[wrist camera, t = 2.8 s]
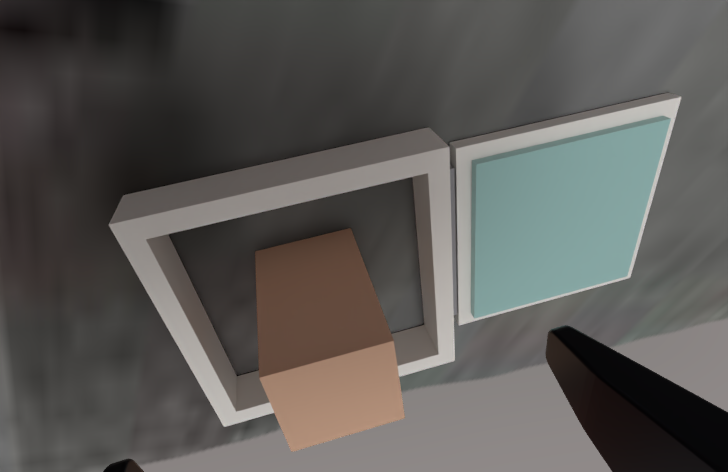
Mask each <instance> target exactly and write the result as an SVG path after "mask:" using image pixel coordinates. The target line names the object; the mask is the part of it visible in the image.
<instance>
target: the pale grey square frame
mask: <svg viewBox="0 0 728 472" xmlns="http://www.w3.org/2000/svg"><path fill="white" fill-rule="evenodd" d="M409 177H412V180H413V192H414V204H415V217H416V229H417V241H418V253H419V266H420V278H421V290H422V303H423V315H424V325H422V326H418V327H414V328H411V329H407V330H403V331H400V332H396V333H392V334H391V335H392V337H393V340H394V345H395V352H396V359H397V366H398V373H399V377H400V376H403V375H407V374H410V373H414V372H417V371H421V370H424V369H428V368H431V367H435V366H438V365H442V364H445V363H449V362H452V361H455V348H454V309H453V269H452V229H451V190H450V150H449V146H448V145H447V144H446V143H445V142H444V141H443V140H442V139H441V138H440V137H439V136H438V135H437V134H436V133H434V132H433V131H432V130H431V129H430V128H429V127H428V128H423V129H419V130H414V131H410V132H405V133H401V134H396V135H392V136H387V137H383V138H378V139H374V140H369V141H365V142H360V143H356V144H351V145H347V146H342V147H338V148H333V149H329V150H324V151H320V152H315V153H311V154H306V155H302V156H297V157H293V158H288V159H284V160H279V161H275V162H270V163H266V164H261V165H257V166H252V167H248V168H243V169H239V170H234V171H230V172H225V173H221V174H216V175H212V176H207V177H203V178H198V179H194V180H189V181H185V182H180V183H176V184H171V185H167V186H162V187H158V188H153V189H149V190H144V191H140V192H135V193H131V194H126V195H123V197H122V199H121V201H120V203H119V205H118V207H117V209H116V211H115V213H114V215H113V217H112V219H111V221H110V223H109V227H110V228H111V230H112V232H113V233H114V235H115V237H116V239H117V240H118V242H119V244H120V246H121V247H122V249H123V251H124V253H125V254H126V256H127V258H128V260H129V261H130V263H131V265H132V267H133V268H134V270H135V272H136V274H137V275H138V277H139V279H140V281H141V282H142V284H143V286H144V288H145V289H146V291H147V293H148V295H149V296H150V298H151V300H152V302H153V303H154V305H155V307H156V309H157V310H158V312H159V314H160V316H161V317H162V319H163V321H164V323H165V324H166V326H167V328H168V330H169V331H170V333H171V335H172V337H173V338H174V340H175V342H176V344H177V345H178V347H179V349H180V351H181V352H182V354H183V356H184V358H185V359H186V361H187V363H188V365H189V366H190V368H191V370H192V372H193V373H194V375H195V377H196V379H197V380H198V382H199V384H200V386H201V387H202V389H203V391H204V393H205V394H206V396H207V398H208V400H209V401H210V403H211V405H212V407H213V408H214V410H215V412H216V414H217V415H218V417H219V419H220V421H221V422H222V424H223V426H224V427H226V426H229V425H233V424H236V423H240V422H243V421H247V420H250V419H254V418H257V417H261V416H264V415H268V414H271V413H274V411H273V408H272V406H271V404H270V402H269V399H268V397H267V395H266V392H265V390H264V388H263V386H262V383H261V381H260V379H259V370H258V371H254V372H251V373H247V374H243V375H240V376H237V375H236V373H235V371H234V369H233V367H232V365H231V363H230V361H229V359H228V357H227V355H226V353H225V351H224V349H223V346H222V344H221V342H220V340H219V338H218V336H217V334H216V332H215V330H214V328H213V326H212V324H211V322H210V320H209V318H208V315H207V313H206V311H205V309H204V307H203V305H202V303H201V301H200V299H199V297H198V295H197V293H196V291H195V289H194V287H193V284H192V282H191V280H190V278H189V276H188V274H187V272H186V270H185V268H184V266H183V264H182V262H181V260H180V258H179V256H178V254H177V251H176V249H175V247H174V245H173V243H172V241H171V239H170V237H169V235H168V234H171V233H175V232H179V231H184V230H188V229H192V228H196V227H201V226H205V225H209V224H213V223H218V222H222V221H226V220H230V219H235V218H239V217H243V216H247V215H252V214H256V213H260V212H264V211H269V210H273V209H277V208H282V207H286V206H290V205H294V204H299V203H303V202H307V201H311V200H316V199H320V198H324V197H328V196H333V195H337V194H341V193H345V192H350V191H354V190H358V189H362V188H367V187H371V186H375V185H379V184H384V183H388V182H392V181H397V180H401V179H405V178H409Z"/></svg>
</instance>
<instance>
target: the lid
mask: <svg viewBox="0 0 728 472" xmlns="http://www.w3.org/2000/svg"><path fill="white" fill-rule="evenodd" d="M680 100H681V96H678V95H675V94H672V93H664V94H660V95H656V96H651V97H647V98H643V99H638V100H634V101H629V102H625V103H621V104H616V105H612V106H607V107H603V108H599V109H594V110H590V111H585V112H581V113H577V114H572V115H568V116H564V117H559V118H555V119H550V120H546V121H542V122H537V123H533V124H528V125H524V126H520V127H515V128H511V129H507V130H502V131H498V132H493V133H489V134H485V135H480V136H476V137H471V138H467V139H463V140H458V141H454V142H449V144H450V190H451V229H452V269H453V309H454V318H455V320H456V321H457V323H458V325H462V324H466V323H469V322H473V321H476V320H480V319H484V318H487V317H491V316H494V315H498V314H502V313H505V312H509V311H512V310H516V309H520V308H523V307H527V306H530V305H534V304H538V303H541V302H545V301H548V300H552V299H556V298H559V297H563V296H566V295H570V294H574V293H577V292H581V291H584V290H588V289H592V288H595V287H599V286H602V285H606V284H610V283H613V282H617V281H620V280H624V279H628V278H630V276H631V273H632V269H633V266H634V262H635V259H636V255H637V252H638V248H639V245H640V241H641V238H642V234H643V231H644V227H645V224H646V220H647V217H648V213H649V210H650V206H651V202H652V199H653V195H654V192H655V188H656V185H657V181H658V178H659V174H660V171H661V167H662V164H663V160H664V157H665V153H666V150H667V146H668V143H669V139H670V136H671V132H672V128H673V125H674V121H675V118H676V114H677V111H678V107H679V104H680Z"/></svg>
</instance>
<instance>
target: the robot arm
mask: <svg viewBox="0 0 728 472" xmlns="http://www.w3.org/2000/svg"><path fill="white" fill-rule="evenodd" d="M546 359H547V362H548V364H549V366H550V368H551V370H552V372H553V374H554V376H555V377H556V379H557V381H558V383H559V385H560V387H561V388H562V390H563V392H564V394H565V396H566V398H567V400H568V401H569V403H570V405H571V407H572V409H573V411H574V413H575V414H576V416H577V418H578V420H579V422H580V423H581V425H582V427H583V429H584V430H585V432H586V433H587V435H588V436H589V438H590V439H591V441H592V442H593V444H594V445H595V447H596V448H597V450H598V451H599V453H600V454H601V456H602V457H603V459H604V460H605V461H606V463H607V464H608V466H609V467H610V469H611V470H612V472H728V412H726V411H724V410H722V409H721V408H719V407H717V406H715V405H713V404H712V403H710V402H708V401H706V400H704V399H702V398H701V397H699V396H697V395H695V394H693V393H692V392H690V391H688V390H686V389H684V388H682V387H681V386H679V385H677V384H675V383H673V382H671V381H670V380H668V379H666V378H664V377H662V376H660V375H659V374H657V373H655V372H653V371H651V370H649V369H648V368H646V367H644V366H642V365H640V364H638V363H637V362H635V361H633V360H631V359H629V358H627V357H626V356H624V355H622V354H620V353H618V352H616V351H615V350H613V349H611V348H609V347H607V346H606V345H604V344H602V343H600V342H598V341H596V340H595V339H593V338H591V337H589V336H587V335H585V334H584V333H582V332H580V331H578V330H576V329H574V328H573V327H570V326H566V325H565V326H561V327H557V328H554V329H551V330H550V331H549V332H548V338H547V346H546ZM103 472H144V471H143V470H142V469H141V468H140V467H139V466H138V465H137V463H136V462H135V461H134V460H132V459H125V460H122V461H119V462H115V463H112V464H110V465H109V466H108V467H107V468H106V469H105V470H104V471H103Z"/></svg>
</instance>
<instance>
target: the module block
mask: <svg viewBox="0 0 728 472" xmlns="http://www.w3.org/2000/svg"><path fill="white" fill-rule="evenodd" d="M255 267H256V297H257V328H258V358H259V379H260V381H261V383H262V386H263V388H264V390H265V392H266V395H267V397H268V399H269V402H270V404H271V406H272V408H273V411H274V413H275V415H276V417H277V420H278V422H279V424H280V427H281V429H282V431H283V433H284V436H285V438H286V440H287V442H288V445H289V447H290V449H291V451H292V452H293V451H297V450H300V449H303V448H307V447H310V446H314V445H317V444H320V443H324V442H327V441H330V440H334V439H337V438H340V437H344V436H347V435H350V434H354V433H357V432H360V431H364V430H367V429H370V428H374V427H377V426H381V425H384V424H387V423H390V422H394V421H397V420H401V419H404V418H405V415H404V408H403V401H402V394H401V387H400V380H399V373H398V366H397V359H396V352H395V345H394V340H393V337H392V335H391V332H390V329H389V327H388V324H387V322H386V319H385V316H384V314H383V311H382V308H381V306H380V303H379V301H378V298H377V295H376V293H375V290H374V288H373V285H372V282H371V280H370V277H369V275H368V272H367V269H366V267H365V264H364V261H363V259H362V256H361V254H360V251H359V248H358V246H357V243H356V241H355V238H354V235H353V233H352V230H351V228H348V229H344V230H340V231H336V232H332V233H328V234H324V235H320V236H316V237H312V238H308V239H303V240H299V241H295V242H291V243H287V244H283V245H279V246H275V247H271V248H267V249H263V250H258V251H255Z"/></svg>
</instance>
